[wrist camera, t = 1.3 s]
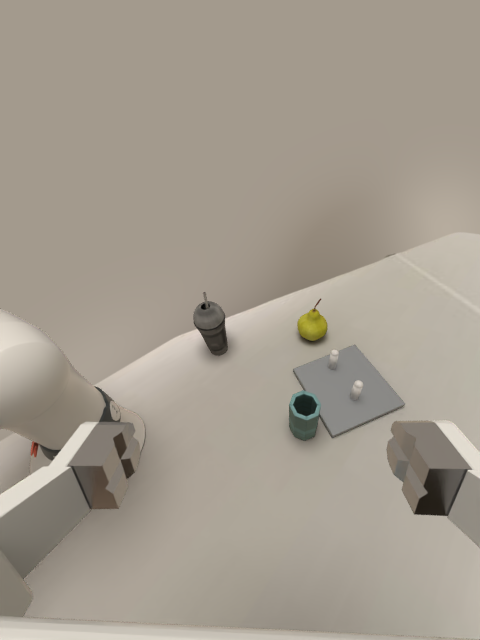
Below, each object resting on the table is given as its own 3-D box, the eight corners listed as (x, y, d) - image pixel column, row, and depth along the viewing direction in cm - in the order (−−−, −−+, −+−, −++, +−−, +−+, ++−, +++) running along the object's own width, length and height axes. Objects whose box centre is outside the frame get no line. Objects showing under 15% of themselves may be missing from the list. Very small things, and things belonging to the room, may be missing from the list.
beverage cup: (218, 333, 73) (200, 275, 59) (238, 345, 70) (225, 286, 55) (199, 351, 70) (175, 294, 55) (219, 365, 66) (199, 308, 52)
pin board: (332, 438, 52) (336, 423, 46) (293, 371, 62) (293, 353, 57) (403, 406, 54) (415, 389, 48) (354, 347, 64) (359, 328, 59)
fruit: (304, 349, 66) (306, 316, 57) (292, 329, 71) (293, 296, 62) (330, 341, 67) (336, 307, 58) (317, 322, 71) (321, 287, 62)
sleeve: (297, 443, 52) (298, 423, 44) (286, 420, 55) (285, 397, 48) (320, 433, 52) (326, 412, 45) (308, 410, 56) (310, 387, 48)
